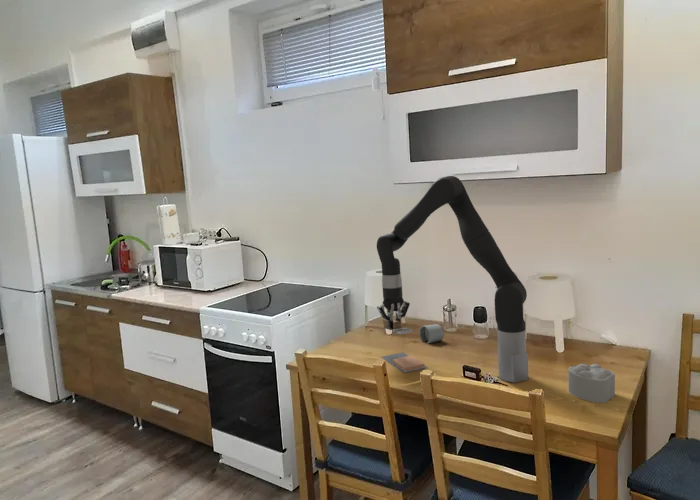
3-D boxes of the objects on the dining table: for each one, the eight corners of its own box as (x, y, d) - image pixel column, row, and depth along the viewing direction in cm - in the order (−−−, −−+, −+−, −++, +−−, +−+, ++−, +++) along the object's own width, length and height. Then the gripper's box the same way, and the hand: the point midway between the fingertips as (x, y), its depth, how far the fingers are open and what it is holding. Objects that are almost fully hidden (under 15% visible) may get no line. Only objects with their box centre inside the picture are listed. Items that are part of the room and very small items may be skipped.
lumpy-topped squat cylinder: (603, 405, 158) (603, 377, 157) (561, 393, 168) (561, 367, 166) (618, 394, 165) (618, 367, 163) (577, 383, 174) (577, 358, 173)
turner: (381, 328, 212) (380, 320, 212) (392, 326, 214) (391, 317, 214) (401, 334, 195) (400, 325, 195) (413, 332, 197) (412, 322, 197)
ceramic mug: (445, 342, 223) (444, 324, 222) (429, 346, 220) (428, 328, 219) (430, 336, 233) (429, 319, 232) (415, 340, 229) (414, 322, 228)
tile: (411, 359, 204) (424, 367, 195) (393, 363, 201) (405, 371, 192) (411, 355, 204) (424, 363, 195) (392, 359, 201) (405, 367, 192)
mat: (428, 369, 194) (428, 368, 194) (404, 374, 191) (404, 373, 191) (403, 353, 213) (403, 352, 213) (380, 358, 209) (380, 356, 209)
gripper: (379, 289, 197) (383, 334, 200) (412, 284, 202) (415, 328, 205) (371, 286, 204) (374, 329, 207) (403, 281, 209) (406, 323, 212)
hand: (395, 328), depth 206 cm, fingers closed on turner, 2 cm apart
